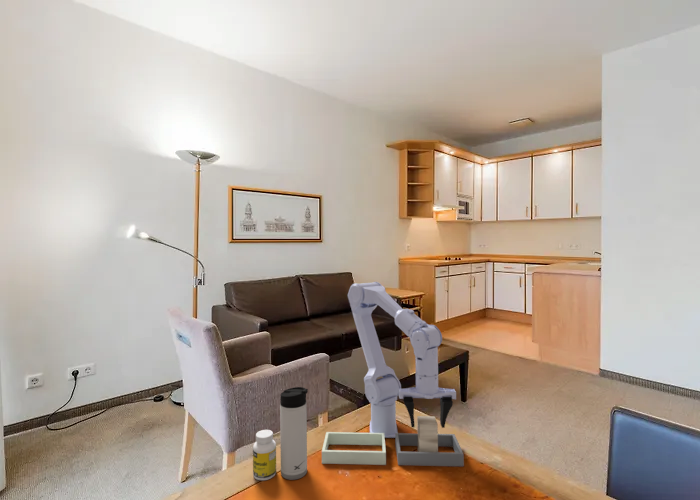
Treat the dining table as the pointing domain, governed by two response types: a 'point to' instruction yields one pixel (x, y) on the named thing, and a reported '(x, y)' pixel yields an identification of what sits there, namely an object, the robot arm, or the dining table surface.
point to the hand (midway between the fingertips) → (427, 425)
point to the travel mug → (293, 433)
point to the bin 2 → (428, 457)
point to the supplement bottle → (264, 455)
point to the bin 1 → (354, 456)
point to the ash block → (427, 434)
